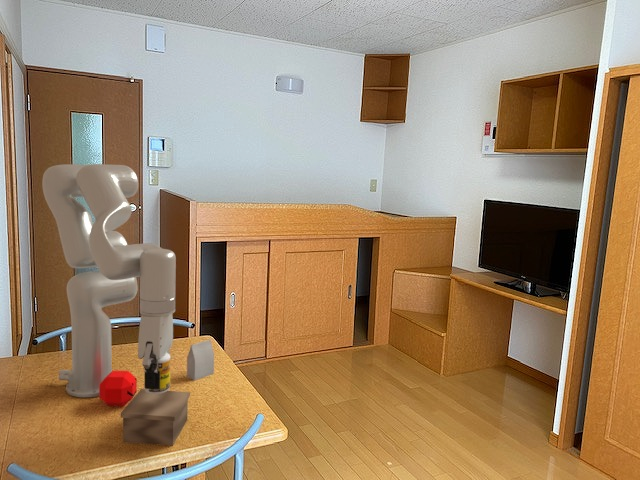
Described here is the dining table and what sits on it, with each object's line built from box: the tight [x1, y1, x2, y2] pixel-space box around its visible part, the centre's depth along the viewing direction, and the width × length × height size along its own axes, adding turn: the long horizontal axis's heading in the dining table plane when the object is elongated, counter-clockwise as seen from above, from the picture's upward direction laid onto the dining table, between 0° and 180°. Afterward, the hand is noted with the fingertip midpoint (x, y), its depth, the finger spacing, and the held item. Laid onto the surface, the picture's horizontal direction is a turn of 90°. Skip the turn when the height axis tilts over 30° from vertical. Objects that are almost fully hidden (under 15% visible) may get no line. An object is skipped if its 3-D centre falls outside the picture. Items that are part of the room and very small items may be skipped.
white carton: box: [186, 339, 215, 381], centre depth 145 cm, size 4×7×10 cm, turn 141°
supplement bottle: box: [143, 352, 171, 394], centre depth 113 cm, size 6×6×10 cm
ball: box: [98, 370, 138, 407], centre depth 127 cm, size 8×8×8 cm
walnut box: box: [120, 388, 191, 446], centre depth 115 cm, size 12×12×7 cm
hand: (157, 381), depth 114 cm, fingers closed on supplement bottle, 5 cm apart
